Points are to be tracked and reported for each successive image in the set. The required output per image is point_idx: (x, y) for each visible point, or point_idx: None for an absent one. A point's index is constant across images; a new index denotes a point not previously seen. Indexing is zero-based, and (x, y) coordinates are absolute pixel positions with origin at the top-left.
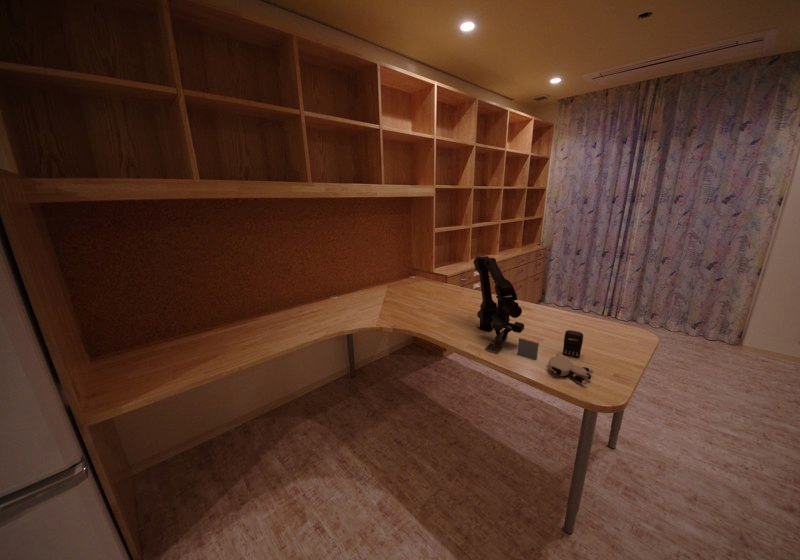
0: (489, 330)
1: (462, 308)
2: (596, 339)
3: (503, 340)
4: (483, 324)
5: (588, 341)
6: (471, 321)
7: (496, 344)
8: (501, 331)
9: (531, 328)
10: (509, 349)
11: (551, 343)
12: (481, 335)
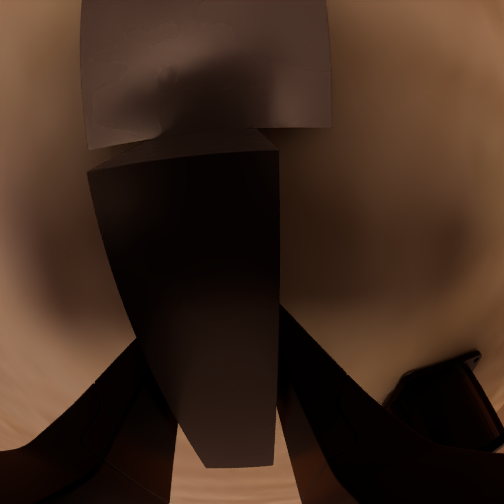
0: (407, 386)
1: (496, 411)
2: (15, 447)
3: None
4: (471, 401)
5: (8, 437)
6: (493, 378)
7: (214, 121)
8: (270, 443)
9: (179, 479)
10: (37, 175)
11: (18, 410)
12: (466, 280)
